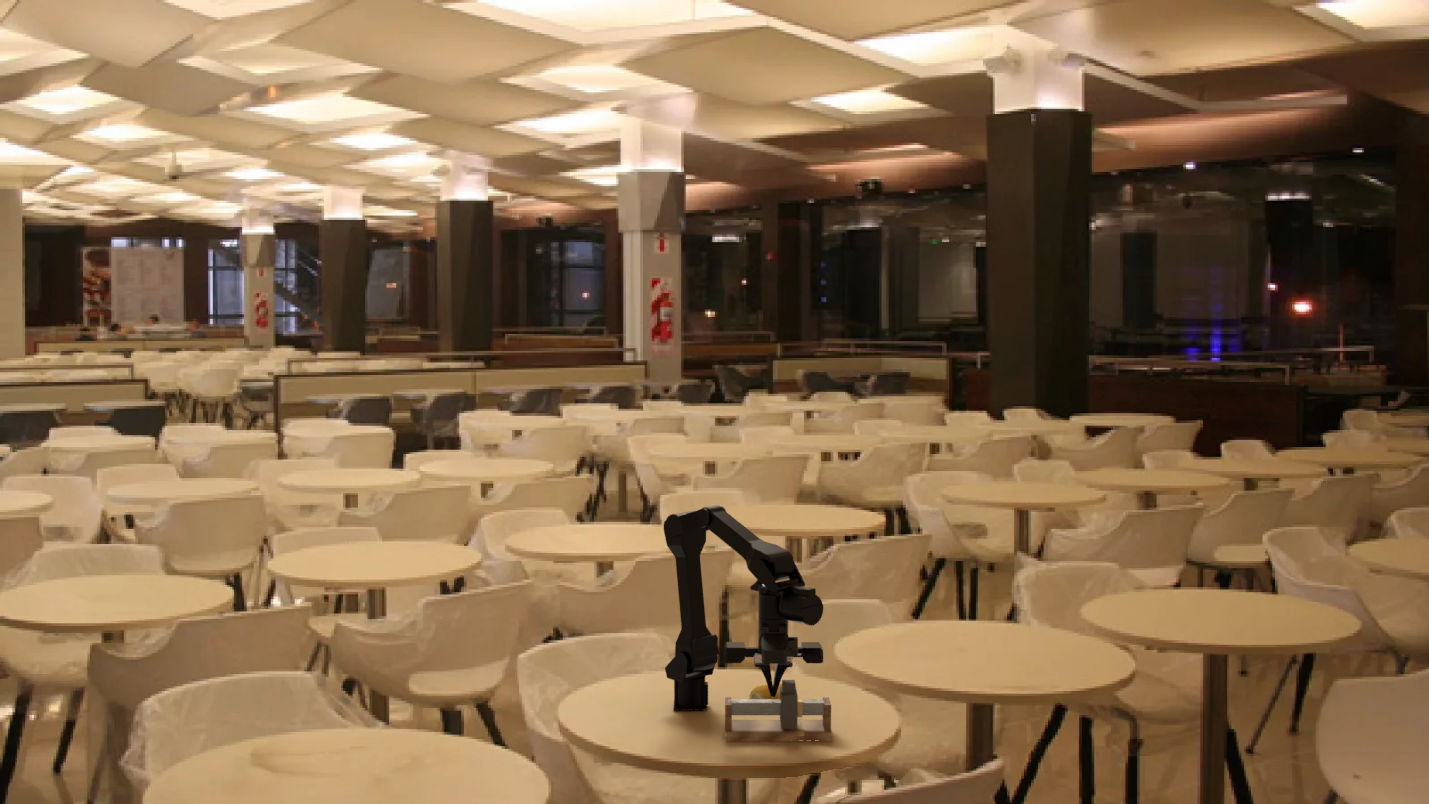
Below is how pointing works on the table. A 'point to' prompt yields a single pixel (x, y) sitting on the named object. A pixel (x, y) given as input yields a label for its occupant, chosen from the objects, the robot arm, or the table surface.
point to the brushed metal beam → (775, 706)
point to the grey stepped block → (788, 705)
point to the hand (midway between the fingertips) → (772, 696)
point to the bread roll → (763, 693)
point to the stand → (777, 728)
